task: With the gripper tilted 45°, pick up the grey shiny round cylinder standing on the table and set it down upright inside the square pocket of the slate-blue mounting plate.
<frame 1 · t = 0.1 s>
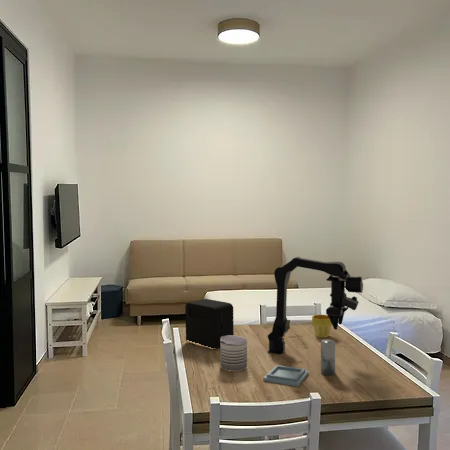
hand: (338, 326, 210), 15 cm above the table, tool pointing down, fingers open, 9 cm apart
grey shiny round cylinder: (327, 373, 195), on the table
can: (233, 367, 204), on the table
mounting plate: (286, 377, 191), on the table
plant pot: (322, 336, 249), on the table
air purifier: (210, 343, 238), on the table
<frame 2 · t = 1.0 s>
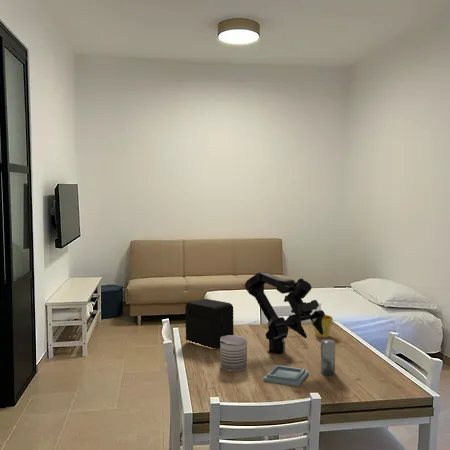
hand: (314, 335, 201), 13 cm above the table, tool tilted 45°, fingers open, 9 cm apart
nothing on the table moved.
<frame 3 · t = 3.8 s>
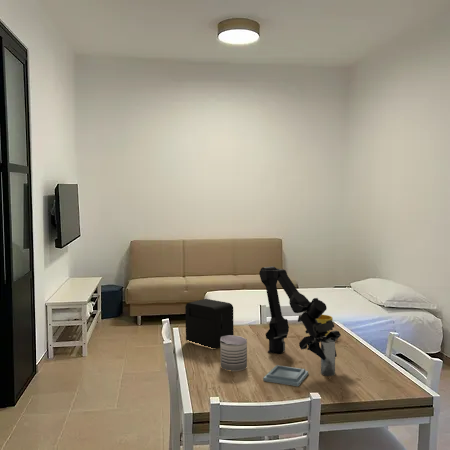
hand: (330, 358, 194), 7 cm above the table, tool tilted 45°, fingers closed on grey shiny round cylinder, 6 cm apart
grey shiny round cylinder: (327, 373, 195), on the table, touching gripper
everything else where it was.
when the fingers open (9 cm above the table, at t = 7.8 s): grey shiny round cylinder drops 1 cm, resting on mounting plate.
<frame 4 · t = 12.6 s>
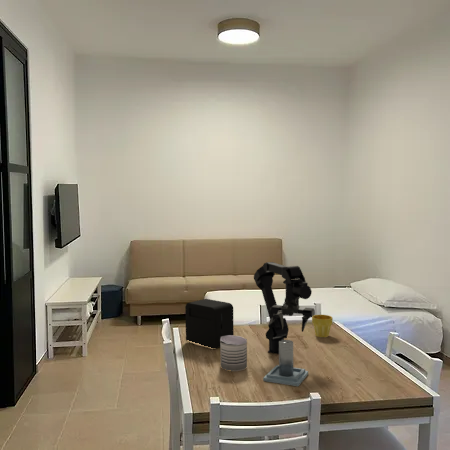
hand: (292, 330, 211), 13 cm above the table, tool pointing down, fingers open, 9 cm apart
grey shiny round cylinder: (286, 374, 191), point 1 cm above the table, touching mounting plate
everything else where it was.
at the end: grey shiny round cylinder 0.1 cm off-centre on the mounting plate, point 1.2 cm above the mounting plate's base; grey shiny round cylinder tilted 0°; the gripper is holding nothing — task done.
